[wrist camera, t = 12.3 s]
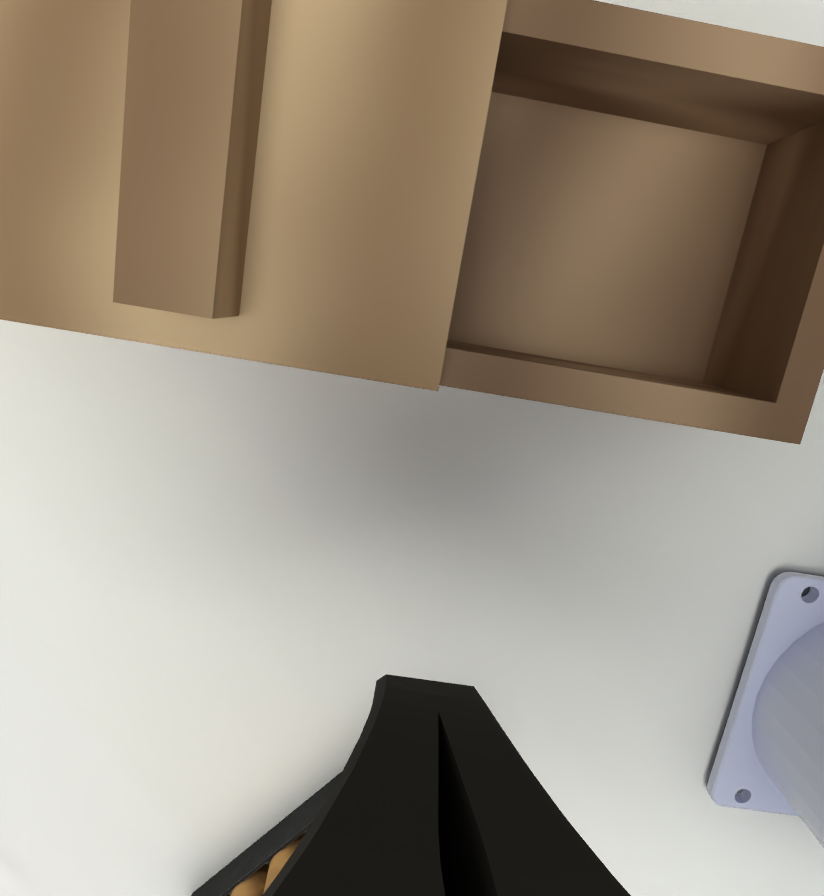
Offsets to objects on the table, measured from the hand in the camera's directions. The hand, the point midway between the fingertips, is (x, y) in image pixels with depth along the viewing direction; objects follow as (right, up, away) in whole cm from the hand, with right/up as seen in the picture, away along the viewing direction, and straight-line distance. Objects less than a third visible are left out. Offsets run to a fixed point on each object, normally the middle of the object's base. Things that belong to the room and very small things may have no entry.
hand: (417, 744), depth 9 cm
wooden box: (+2, +10, +8) cm, 13 cm away
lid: (-6, +10, +3) cm, 12 cm away
